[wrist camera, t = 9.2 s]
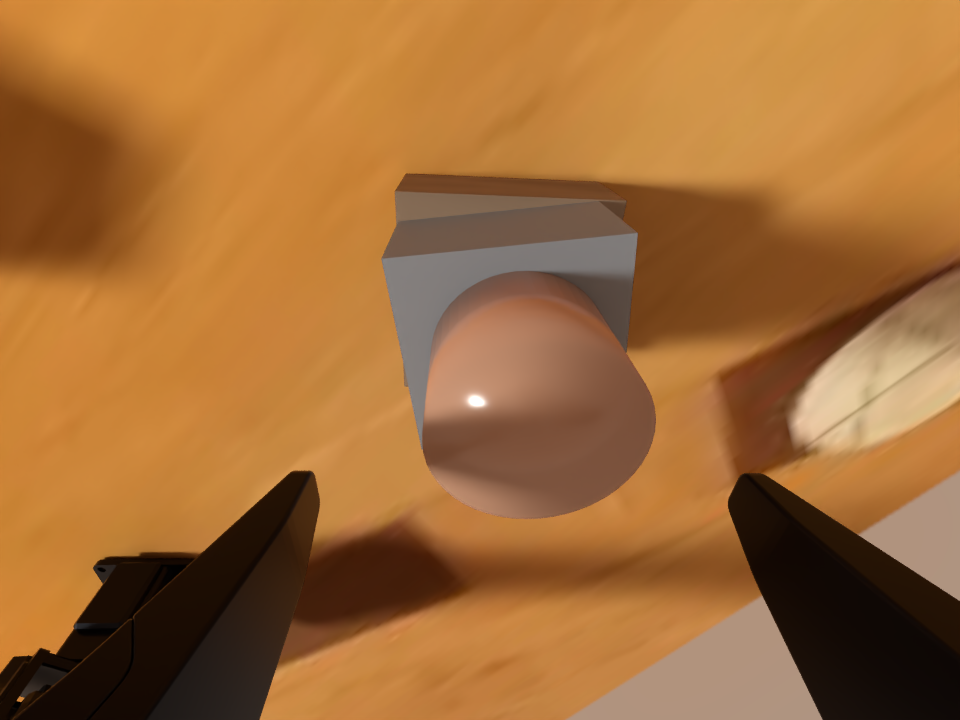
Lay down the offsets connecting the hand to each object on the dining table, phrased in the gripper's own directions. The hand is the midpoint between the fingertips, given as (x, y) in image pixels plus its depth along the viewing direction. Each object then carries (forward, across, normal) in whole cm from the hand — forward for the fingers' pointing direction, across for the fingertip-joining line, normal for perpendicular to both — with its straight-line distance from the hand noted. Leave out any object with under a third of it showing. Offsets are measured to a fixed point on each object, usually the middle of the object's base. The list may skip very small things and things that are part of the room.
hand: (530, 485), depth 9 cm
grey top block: (+9, 0, 0) cm, 9 cm away
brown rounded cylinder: (+5, 0, 0) cm, 5 cm away
